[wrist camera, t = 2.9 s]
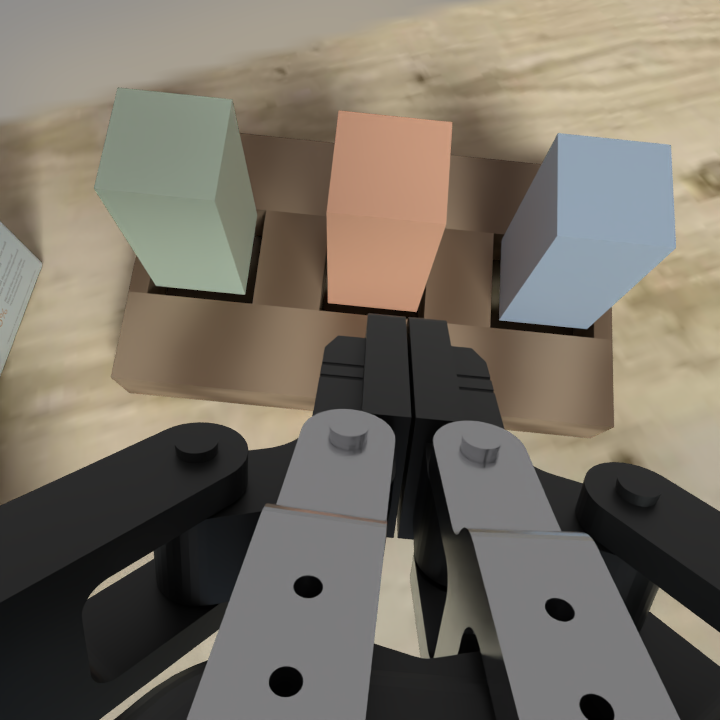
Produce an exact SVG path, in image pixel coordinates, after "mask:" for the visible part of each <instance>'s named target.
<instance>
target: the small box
mask: <svg viewBox="0 0 720 720" xmlns="http://www.w3.org/2000/svg"><path fill="white" fill-rule="evenodd" d="M41 268H42V262H41V261H40V260H39V259H38V258H37V257H36V256H35V255H34V254H33V253H32V252H31V251H30V250H29V249H28V248H27V247H26V246H25V245H24V244H23V243H22V242H21V241H20V240H19V239H18V238H17V237H16V236H15V235H14V234H13V233H12V232H11V231H10V230H9V229H8V228H7V227H6V226H5V225H4V224H3V223H2V222H1V221H0V376H1V373H2V370H3V368H4V365H5V362H6V360H7V357H8V355H9V352H10V349H11V347H12V344H13V341H14V339H15V336H16V333H17V331H18V328H19V326H20V323H21V320H22V318H23V315H24V312H25V310H26V307H27V304H28V302H29V299H30V296H31V294H32V291H33V288H34V286H35V283H36V280H37V278H38V275H39V272H40V270H41Z"/></svg>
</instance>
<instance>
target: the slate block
mask: <svg viewBox="0 0 720 720" xmlns="http://www.w3.org/2000/svg"><path fill="white" fill-rule="evenodd" d="M675 248H676V238H675V218H674V198H673V178H672V158H671V145H667V144H657V143H647V142H638V141H628V140H619V139H609V138H599V137H590V136H580V135H570V134H561V133H558V134H557V136H556V138H555V140H554V142H553V144H552V145H551V147H550V149H549V151H548V153H547V155H546V157H545V159H544V161H543V163H542V164H541V166H540V168H539V170H538V172H537V174H536V176H535V178H534V180H533V182H532V183H531V185H530V187H529V189H528V191H527V193H526V195H525V197H524V199H523V200H522V202H521V204H520V206H519V208H518V210H517V212H516V214H515V216H514V218H513V219H512V221H511V223H510V225H509V227H508V229H507V231H506V233H505V235H504V237H503V238H502V242H501V272H500V302H499V320H501V321H511V322H521V323H531V324H541V325H551V326H561V327H571V328H581V329H588V328H589V327H590V326H591V325H592V324H593V323H594V322H595V321H596V320H597V319H599V318H600V317H601V316H602V315H603V314H604V313H605V312H606V311H607V310H608V309H610V308H611V307H612V306H613V305H614V304H615V303H616V302H617V301H618V300H619V299H620V298H622V297H623V296H624V295H625V294H626V293H627V292H628V291H629V290H630V289H631V288H633V287H634V286H635V285H636V284H637V283H638V282H639V281H640V280H641V279H642V278H643V277H645V276H646V275H647V274H648V273H649V272H650V271H651V270H652V269H653V268H654V267H656V266H657V265H658V264H659V263H660V262H661V261H662V260H663V259H664V258H665V257H667V256H668V255H669V254H670V253H671V252H672V251H673V250H674V249H675Z"/></svg>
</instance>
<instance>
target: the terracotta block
mask: <svg viewBox="0 0 720 720" xmlns="http://www.w3.org/2000/svg"><path fill="white" fill-rule="evenodd" d="M451 137H452V122H445V121H435V120H426V119H416V118H407V117H397V116H387V115H378V114H368V113H358V112H349V111H339V112H338V120H337V129H336V137H335V145H334V154H333V162H332V171H331V179H330V187H329V196H328V204H327V272H328V303H332V304H342V305H352V306H362V307H372V308H382V309H392V310H402V311H412V312H417V309H418V306H419V303H420V300H421V297H422V294H423V292H424V289H425V286H426V283H427V280H428V277H429V274H430V271H431V268H432V265H433V262H434V259H435V256H436V253H437V250H438V247H439V244H440V241H441V238H442V235H443V232H444V230H445V227H446V220H447V203H448V187H449V170H450V154H451Z"/></svg>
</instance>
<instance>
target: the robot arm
mask: <svg viewBox="0 0 720 720" xmlns="http://www.w3.org/2000/svg"><path fill="white" fill-rule="evenodd" d="M396 518H397V531H398V538H403V539H414V555H413V561H412V567H411V573H410V584H411V591H412V599H413V606H414V613H415V621H416V628H417V636H418V643H419V650H420V658H419V657H414V656H411V655H408V654H405V653H402V652H399V651H396V650H392V649H389V648H386V647H383V646H380V645H377V644H374V637H375V628H376V619H377V610H378V601H379V592H380V583H381V574H382V565H383V556H384V550H385V543H386V537H390V538H394V531H395V524H396ZM152 551H154V559H153V560H151V561H150V562H148V563H146V564H145V565H143V566H141V567H140V568H138V569H137V570H135V571H133V572H132V573H130V574H128V575H127V576H125V577H123V578H122V579H120V580H119V581H117V582H115V583H114V584H112V585H110V586H109V587H107V588H105V589H104V590H102V591H100V592H99V593H97V594H96V595H94V596H92V597H91V598H89V599H88V597H89V596H90V594H91V593H92V592H93V590H94V589H95V588H96V587H97V586H98V585H99V584H101V583H102V582H103V581H104V580H106V579H107V578H109V577H111V576H112V575H114V574H116V573H117V572H119V571H121V570H122V569H124V568H126V567H127V566H129V565H131V564H132V563H134V562H136V561H137V560H139V559H141V558H142V557H144V556H146V555H147V554H149V553H151V552H152ZM658 588H661V589H662V590H664V591H665V592H666V593H668V594H669V595H670V596H672V597H673V598H674V599H676V600H677V601H678V602H680V603H681V604H682V605H684V606H685V607H686V608H688V609H689V610H690V611H692V612H693V613H694V614H696V615H697V616H698V617H700V618H701V619H702V620H704V621H705V622H706V623H708V624H709V625H711V626H712V627H713V628H715V629H716V630H717V631H719V632H720V511H718V510H716V509H715V508H713V507H712V506H710V505H708V504H707V503H705V502H703V501H702V500H700V499H699V498H697V497H695V496H694V495H692V494H690V493H689V492H687V491H686V490H684V489H682V488H681V487H679V486H677V485H676V484H674V483H673V482H671V481H669V480H668V479H666V478H664V477H663V476H661V475H659V474H657V473H655V472H653V471H651V470H648V469H646V468H643V467H640V466H636V465H632V464H627V463H618V462H610V463H602V464H599V465H596V466H594V467H592V468H591V469H590V470H589V471H588V472H587V473H586V476H585V479H584V482H583V483H579V482H576V481H573V480H569V479H566V478H563V477H559V476H556V475H553V474H550V473H547V472H545V471H542V470H540V469H538V468H536V467H534V466H533V464H532V462H531V460H530V457H529V455H528V453H527V450H526V448H525V447H524V445H523V443H522V442H521V441H520V440H519V439H518V438H517V437H516V436H514V435H513V434H511V433H510V432H508V431H506V430H505V429H504V425H503V422H502V418H501V414H500V411H499V407H498V403H497V400H496V396H495V393H494V389H493V385H492V381H491V380H490V374H489V370H488V367H487V363H486V361H485V360H484V359H482V358H481V357H480V356H479V355H478V354H477V353H476V352H475V351H474V350H473V349H472V348H467V347H456V346H451V342H450V336H449V331H448V325H447V321H446V320H435V319H425V318H414V317H408V320H407V324H406V317H403V316H392V315H382V314H371V313H368V316H367V325H366V335H365V338H360V337H350V336H339V335H338V336H337V337H336V338H335V339H333V340H332V341H331V342H330V343H329V344H328V345H327V346H325V349H324V354H323V360H322V365H321V371H320V377H319V382H318V388H317V393H316V399H315V404H314V410H313V415H312V417H311V418H309V419H308V420H307V421H306V422H305V423H304V425H303V427H302V429H301V432H300V435H299V438H298V439H296V440H294V441H292V442H290V443H287V444H285V445H281V446H278V447H273V448H267V449H258V450H249V451H248V446H247V443H246V441H245V439H244V438H243V437H242V436H241V435H240V434H239V433H238V432H236V431H235V430H233V429H231V428H228V427H226V426H223V425H219V424H214V423H200V422H198V423H188V424H182V425H178V426H174V427H172V428H169V429H167V430H164V431H162V432H160V433H158V434H156V435H153V436H151V437H149V438H147V439H145V440H142V441H140V442H138V443H136V444H134V445H132V446H129V447H127V448H125V449H123V450H121V451H119V452H116V453H114V454H112V455H110V456H108V457H105V458H103V459H101V460H99V461H97V462H95V463H92V464H90V465H88V466H86V467H84V468H82V469H79V470H77V471H75V472H73V473H71V474H68V475H66V476H64V477H62V478H60V479H58V480H55V481H53V482H51V483H49V484H47V485H45V486H42V487H40V488H38V489H36V490H34V491H31V492H29V493H27V494H25V495H23V496H21V497H18V498H16V499H14V500H12V501H10V502H7V503H5V504H3V505H1V506H0V720H99V719H101V718H102V717H103V716H105V715H106V714H107V713H109V712H110V711H111V710H113V709H114V708H115V707H116V706H118V705H119V704H120V703H122V702H123V701H124V700H126V699H127V698H128V697H130V696H131V695H132V694H134V693H135V692H136V691H138V690H139V689H140V688H142V687H143V686H144V685H146V684H147V683H148V682H150V681H151V680H152V679H154V678H155V677H156V676H158V675H159V674H160V673H162V672H163V671H164V670H166V669H167V668H168V667H169V666H171V665H172V664H173V663H175V662H176V661H177V660H179V659H180V658H181V657H183V656H184V655H185V654H187V653H188V652H189V651H191V650H192V649H193V648H195V647H196V646H197V645H199V644H200V643H201V642H203V641H204V640H205V639H207V638H208V637H209V636H211V635H212V634H213V633H215V632H216V631H217V630H218V629H219V631H218V634H217V637H216V640H215V642H214V645H213V648H212V651H211V653H210V656H209V659H208V660H207V661H205V662H202V663H199V664H197V665H194V666H192V667H190V668H188V669H186V670H184V671H182V672H180V673H178V674H176V675H174V676H172V677H170V678H169V679H167V680H166V681H164V682H162V683H161V684H159V685H158V686H156V687H155V688H153V689H152V690H150V691H149V692H148V693H146V694H145V695H144V696H143V697H141V698H140V699H139V700H138V701H136V702H135V703H134V704H133V705H131V706H130V707H129V708H128V709H126V710H125V711H124V712H123V713H122V714H120V715H119V716H118V717H117V718H115V719H114V720H720V666H718V665H717V664H716V663H715V662H713V661H712V660H711V659H709V658H708V657H707V656H706V655H704V654H703V653H702V652H700V651H699V650H698V649H697V648H695V647H694V646H693V645H692V644H690V643H689V642H688V641H686V640H685V639H684V638H683V637H681V636H680V635H679V634H677V633H676V632H675V631H674V630H672V629H671V628H670V627H668V626H667V625H666V624H665V623H663V622H662V621H661V620H660V619H658V618H657V617H656V616H654V615H653V614H652V613H651V612H649V610H650V607H651V605H652V603H653V600H654V598H655V596H656V593H657V591H658Z"/></svg>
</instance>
